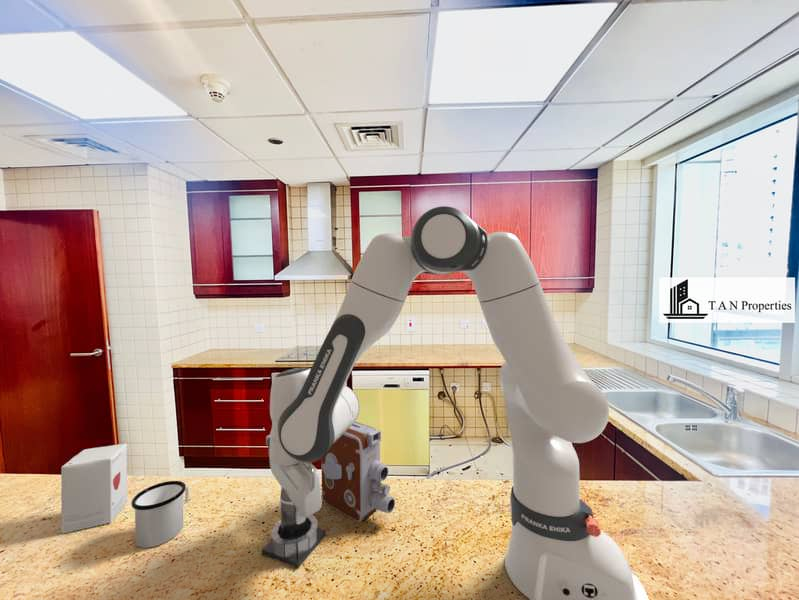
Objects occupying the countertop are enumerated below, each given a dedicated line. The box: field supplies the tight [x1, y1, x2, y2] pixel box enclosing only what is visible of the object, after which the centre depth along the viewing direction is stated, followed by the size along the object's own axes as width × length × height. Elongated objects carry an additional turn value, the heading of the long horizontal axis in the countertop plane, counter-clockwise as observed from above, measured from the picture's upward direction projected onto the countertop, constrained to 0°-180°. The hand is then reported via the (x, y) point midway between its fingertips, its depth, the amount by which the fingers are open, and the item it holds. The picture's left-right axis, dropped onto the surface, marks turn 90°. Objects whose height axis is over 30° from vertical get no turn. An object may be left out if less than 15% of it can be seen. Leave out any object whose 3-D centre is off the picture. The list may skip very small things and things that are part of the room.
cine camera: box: [320, 421, 396, 523], centre depth 76 cm, size 9×19×20 cm, turn 53°
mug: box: [130, 480, 190, 549], centre depth 70 cm, size 12×10×9 cm
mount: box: [261, 514, 327, 569], centre depth 65 cm, size 9×9×4 cm
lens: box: [279, 488, 306, 537], centre depth 65 cm, size 5×5×8 cm
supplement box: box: [60, 443, 128, 534], centre depth 75 cm, size 9×9×15 cm
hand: (294, 512), depth 65 cm, fingers closed on lens, 5 cm apart
